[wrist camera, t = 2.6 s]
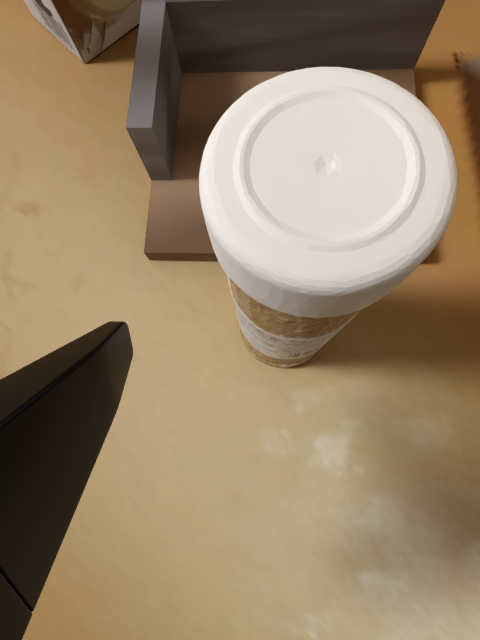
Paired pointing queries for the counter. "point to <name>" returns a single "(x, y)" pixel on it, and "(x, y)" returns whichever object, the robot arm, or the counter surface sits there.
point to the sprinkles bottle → (321, 202)
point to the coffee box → (86, 22)
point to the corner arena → (243, 82)
